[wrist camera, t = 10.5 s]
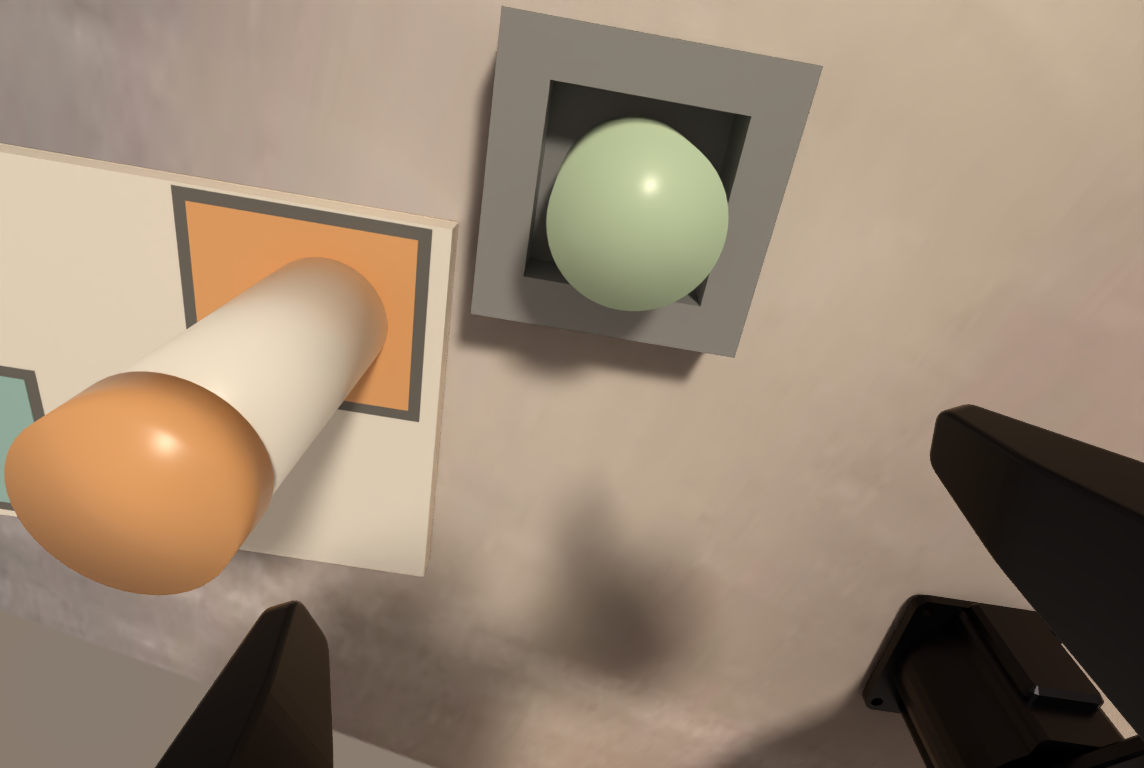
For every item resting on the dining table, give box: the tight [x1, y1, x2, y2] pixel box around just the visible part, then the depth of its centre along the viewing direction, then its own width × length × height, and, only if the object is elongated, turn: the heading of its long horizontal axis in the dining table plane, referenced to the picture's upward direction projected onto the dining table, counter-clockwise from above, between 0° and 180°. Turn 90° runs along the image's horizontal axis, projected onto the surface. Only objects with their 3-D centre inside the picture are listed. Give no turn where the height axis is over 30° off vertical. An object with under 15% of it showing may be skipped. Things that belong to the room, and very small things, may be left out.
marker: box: [4, 257, 388, 595], centre depth 17 cm, size 4×4×10 cm
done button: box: [546, 116, 729, 311], centre depth 17 cm, size 4×4×4 cm
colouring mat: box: [0, 143, 459, 577], centre depth 23 cm, size 14×21×1 cm, turn 81°
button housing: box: [471, 6, 823, 358], centre depth 19 cm, size 8×8×2 cm
